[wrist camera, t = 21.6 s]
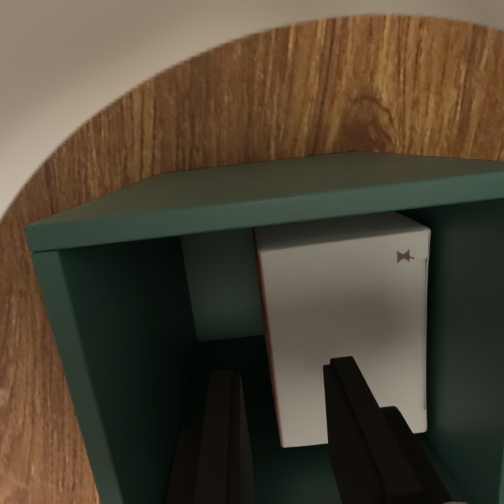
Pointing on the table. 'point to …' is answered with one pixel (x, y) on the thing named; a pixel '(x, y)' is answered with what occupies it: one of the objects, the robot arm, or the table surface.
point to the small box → (343, 314)
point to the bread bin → (250, 314)
